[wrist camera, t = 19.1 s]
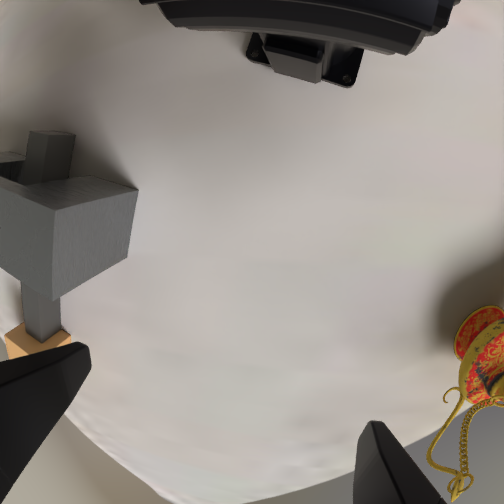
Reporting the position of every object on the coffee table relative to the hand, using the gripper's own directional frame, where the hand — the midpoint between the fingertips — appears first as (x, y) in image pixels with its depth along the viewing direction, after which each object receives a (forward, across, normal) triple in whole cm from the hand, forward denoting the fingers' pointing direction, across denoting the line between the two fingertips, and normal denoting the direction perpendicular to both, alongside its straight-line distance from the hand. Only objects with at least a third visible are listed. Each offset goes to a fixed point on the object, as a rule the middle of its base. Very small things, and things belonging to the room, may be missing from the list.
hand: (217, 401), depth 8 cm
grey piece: (+12, +18, -2) cm, 22 cm away
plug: (+12, +19, +5) cm, 23 cm away
